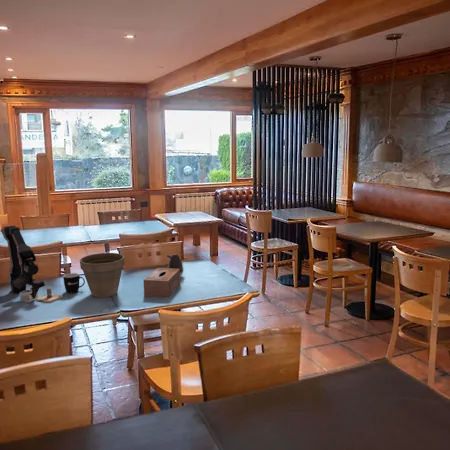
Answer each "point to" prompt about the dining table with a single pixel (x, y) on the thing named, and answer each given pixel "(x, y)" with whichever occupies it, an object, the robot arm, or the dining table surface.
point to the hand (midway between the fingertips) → (29, 297)
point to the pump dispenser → (175, 263)
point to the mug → (72, 282)
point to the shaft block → (49, 297)
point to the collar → (27, 296)
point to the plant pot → (103, 273)
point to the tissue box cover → (161, 282)
